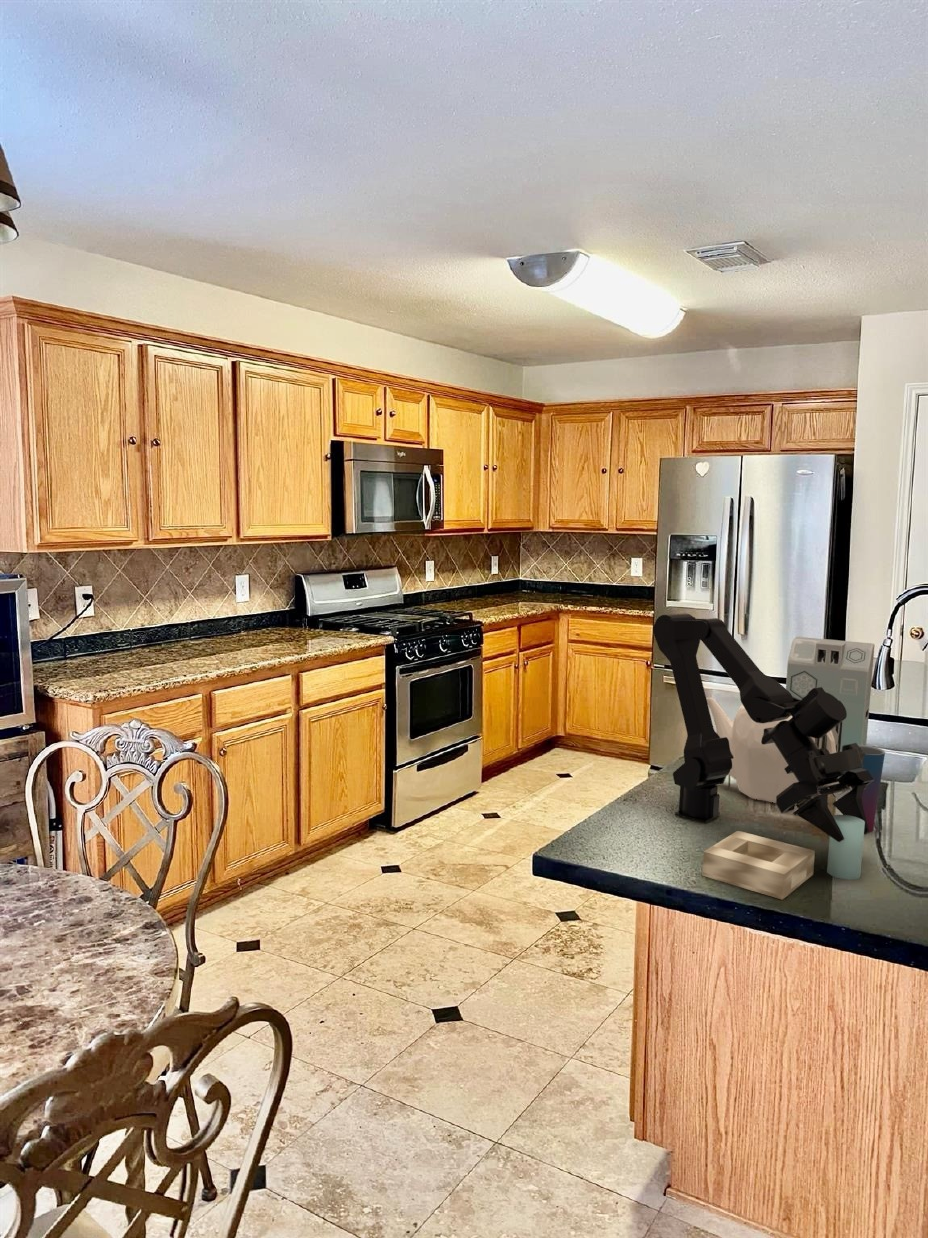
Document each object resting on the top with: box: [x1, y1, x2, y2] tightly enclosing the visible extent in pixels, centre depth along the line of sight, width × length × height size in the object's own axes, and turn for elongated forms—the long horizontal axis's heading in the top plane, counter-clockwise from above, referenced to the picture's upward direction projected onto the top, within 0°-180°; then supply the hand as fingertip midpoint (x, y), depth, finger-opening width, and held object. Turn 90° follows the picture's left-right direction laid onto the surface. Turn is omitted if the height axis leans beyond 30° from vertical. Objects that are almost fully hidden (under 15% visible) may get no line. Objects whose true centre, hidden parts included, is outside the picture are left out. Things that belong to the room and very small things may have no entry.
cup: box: [844, 744, 886, 834], centre depth 169 cm, size 7×7×15 cm
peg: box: [826, 814, 865, 881], centre depth 147 cm, size 5×5×9 cm
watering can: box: [706, 696, 836, 804], centre depth 187 cm, size 16×27×19 cm, turn 59°
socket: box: [701, 830, 816, 901], centre depth 146 cm, size 13×13×4 cm
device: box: [785, 636, 875, 779], centre depth 201 cm, size 16×8×30 cm, turn 60°
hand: (854, 837), depth 146 cm, fingers open, 6 cm apart
